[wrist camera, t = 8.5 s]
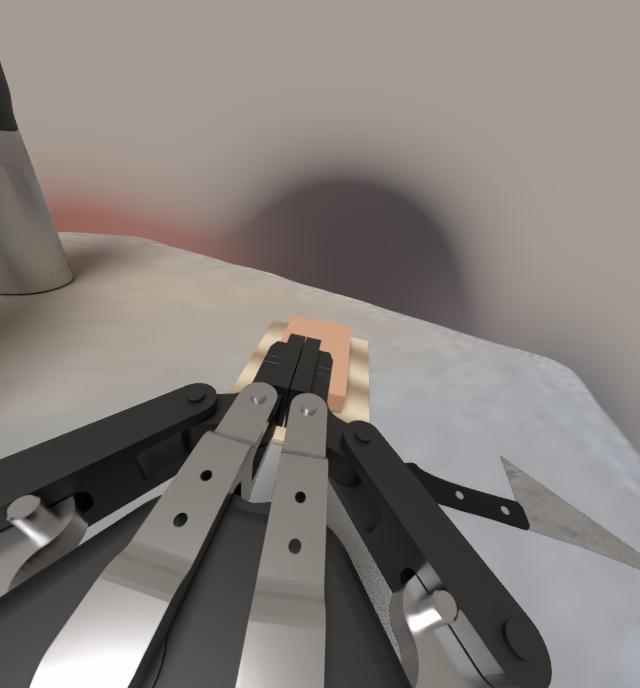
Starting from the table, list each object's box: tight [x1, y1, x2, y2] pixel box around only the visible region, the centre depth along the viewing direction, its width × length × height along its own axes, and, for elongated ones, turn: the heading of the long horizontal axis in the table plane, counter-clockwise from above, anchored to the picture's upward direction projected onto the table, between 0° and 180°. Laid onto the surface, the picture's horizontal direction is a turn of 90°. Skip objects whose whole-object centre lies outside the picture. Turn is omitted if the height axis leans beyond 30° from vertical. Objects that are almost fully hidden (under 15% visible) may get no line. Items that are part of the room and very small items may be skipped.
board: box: [230, 320, 369, 445], centre depth 31 cm, size 19×14×1 cm
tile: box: [281, 315, 351, 413], centre depth 31 cm, size 2×8×13 cm
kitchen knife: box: [405, 456, 640, 569], centre depth 24 cm, size 29×1×10 cm
